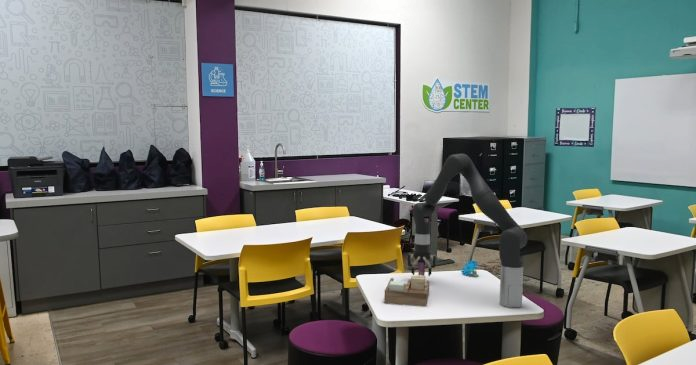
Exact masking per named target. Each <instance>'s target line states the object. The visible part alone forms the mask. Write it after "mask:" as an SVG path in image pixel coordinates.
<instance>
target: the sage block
mask: <svg viewBox="0 0 696 365" xmlns="http://www.w3.org/2000/svg"><path fill="white" fill-rule="evenodd" d="M404 284H406V283H405V281H401V280H400V281H399V280H393V281H391V282H390V284H389V290H393V291H404Z"/></svg>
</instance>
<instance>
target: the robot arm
mask: <svg viewBox="0 0 696 365" xmlns="http://www.w3.org/2000/svg"><path fill="white" fill-rule="evenodd" d="M456 175H461V176H463V178H464V179H465V181H466V182H467V183H468V185H469V189H470V190H469V191H470V194H471V198H472V200H473V202H474V203H475V206H477V208H478V209H479V211H480V212H482V214H483V215H484V216H486V217H487V218H488V219H490V220H491V221H492V222H494V223H495V224H496V225H497V226H498V228H499V229H500V230H501V231H502V232H501V234H500V237H499V241H498V243H499V244H498V245H499V247H498V249H499V251H498V252H499V253H498V255H499V259H500V277H499V278H500V284H499V305H501V306H503V307H507V308H509V309H510V308H522V307H523V292H524V291H523V290H524V289H523V288H524V286H523V281H524V280H523V278H524V260H523V259H522V258H521V249H522V248H524V247H526V245H527V243H528V236H527V234H526V232H525V230H524V229H523V228H522V227H521V226H520V225H519V224H518V223H517V221H515V219H514V218H513V217H512V215H510V214H509V212H508V211H507V209H506V208H505V206H504V205H503V204H502V203H501V201H500V200H499V198H498V197H497V195H496V194H495V192H493V190H492V189H491V187H490V186H489V185H488V184H487V183H486V181H485V180H484V178H483V176H482V175H481V174H480V172H479V171H478V170H477V167H476V166H475V164H474V162H473V161H472V159H471V157H470V156H468V155H467V154H465V153H456V154H455V153H454V154H450V155H449V156H448V157H447V158H446V160H445V162H444V164H443V166H442V167H441V169H440V172H439V174H438V175H437V177H436V178H435V181H434V182H433V184H432V185H431V186H430V188H429V189H428V190H427V191H426V193H425V195H424V197H423V199H424V202H417V203H415V204H414V205H413V206H412V216H413V220H414V225H415V227H414V228H415V234H414V249H413V250H414V252H413V253H408V255H407V266H408V267H411V274H412V275H415V274H416V273H415V269H416V268H415V266H416V265H417V263H418V264H419V262H423V263H425V265H426V266H427V267H428V272H427V273H428V274H427V275H428V276H427V277H430V276H431V275H432V269H434V268H436V260H437V255H436V254H431V252H430V251H431V249H430V246H431V245H430V244H431V236H430V234H431V233H430V231H431V230H430V229H431V228H430V227H431V226H430V223H429V222H428V221H426V220H425V217H430V216H431V215H433V213H434V212H435V209H436V208H437V204H438V202H440V201H441V199H442V197H443V196H444V195H445V193H446V190H447V186H448V184H449V183H450V181H452V179H453V178H454V177H455V176H456ZM413 258H414V259H415V260H414V261H413V263H412V260H411V259H413ZM430 259H431V260H432V264H431V262H430Z"/></svg>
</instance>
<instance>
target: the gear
mask: <svg viewBox="0 0 696 365" xmlns="http://www.w3.org/2000/svg"><path fill="white" fill-rule="evenodd" d="M478 265H479V264H478V261H477V260H474V259H472V260H471V261H470V260H469V261H467V263H464V266H462V268H461V271H460V272H461V274H462V275H463V276H467V277H468V275H469V276H471V275H472V274H473V275H475V276H476V277H479V275H478V271H477V269H478Z"/></svg>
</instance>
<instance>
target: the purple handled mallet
mask: <svg viewBox="0 0 696 365" xmlns="http://www.w3.org/2000/svg"><path fill="white" fill-rule="evenodd" d="M425 265H426V263H423V262H419V263H418V272H417V273H418V275H417V274H414V275H413V274H412V275H411V278H410V279H411V289H418V290H424V289H425V285H426V275H425V269H426V266H425Z"/></svg>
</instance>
